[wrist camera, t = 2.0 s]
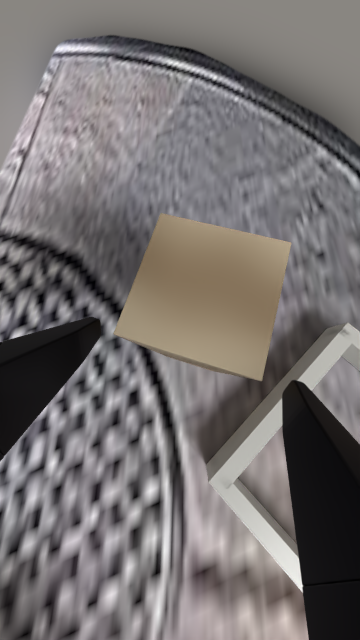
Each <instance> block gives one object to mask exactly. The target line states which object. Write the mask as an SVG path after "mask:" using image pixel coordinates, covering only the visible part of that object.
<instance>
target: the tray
mask: <svg viewBox="0 0 360 640" xmlns="http://www.w3.org/2000/svg"><path fill="white" fill-rule="evenodd" d="M341 356H342V357H343V358H344V359H346V360H347V361H348V362H349V363H350V364H352V365H353V366H354V367H355V368H356V369H358V370H359V371H360V332H359V331H358V330H357V329H355V328H354V327H353V326H351V325H350V324H349V323H344V324H341V325H337V326H334V327H330V328H327V329H326V330H325V331H324V332H323V333H322V334H321V336H320V337H319V338H318V339H317V340H316V341H315V342H314V344H313V345H312V346H311V347H310V348H309V349H308V350H307V351H306V353H305V354H304V355H303V356H302V357H301V358H300V359H299V360H298V362H297V363H296V364H295V365H294V366H293V367H292V368H291V369H290V371H289V372H288V373H287V374H286V375H285V376H284V377H283V378H282V380H281V381H280V382H279V383H278V384H277V385H276V386H275V388H274V389H273V390H272V391H271V392H270V393H269V394H268V395H267V397H266V398H265V399H264V400H263V401H262V402H261V403H260V404H259V406H258V407H257V408H256V409H255V410H254V411H253V412H252V413H251V415H250V416H249V417H248V418H247V419H246V420H245V421H244V422H243V424H242V425H241V426H240V427H239V428H238V429H237V430H236V432H235V433H234V434H233V435H232V436H231V437H230V438H229V439H228V441H227V442H226V443H225V444H224V445H223V446H222V447H221V448H220V450H219V451H218V452H217V453H216V454H215V455H214V456H213V457H212V459H211V460H210V461H209V462H208V463H207V464H206V468H207V475H208V482H209V483H210V484H211V486H212V487H213V488H214V489H215V490H216V491H217V493H218V494H219V495H220V496H221V497H222V498H223V500H224V501H225V502H226V503H227V504H228V506H229V507H230V508H231V509H232V510H233V511H234V513H235V514H236V515H237V516H238V517H239V518H240V520H241V521H242V522H243V523H244V524H245V525H246V527H247V528H248V529H249V530H250V531H251V532H252V534H253V535H254V536H255V537H256V538H257V539H258V541H259V542H260V543H261V544H262V545H263V547H264V548H265V549H266V550H267V551H268V552H269V554H270V555H271V556H272V557H273V558H274V559H275V561H276V562H277V563H278V564H279V565H280V566H281V568H282V569H283V570H284V571H285V572H286V573H287V575H288V576H289V577H290V578H291V579H292V581H293V582H294V583H295V584H296V585H297V586H298V588H299V589H300V590H301V591H302V592H303V589H302V587H303V585H302V580H301V572H300V564H299V556H298V548H297V544H296V543H295V542H294V541H293V539H292V538H291V537H290V536H289V535H288V534H287V533H286V532H285V530H284V529H283V528H282V527H281V526H280V525H279V524H278V523H277V522H276V520H275V519H274V518H273V517H272V516H271V515H270V514H269V513H268V511H267V510H266V509H265V508H264V507H263V506H262V505H261V504H260V503H259V501H258V500H257V499H256V498H255V497H254V496H253V495H252V494H251V492H250V491H249V490H248V489H247V488H246V487H245V486H244V485H243V484H242V482H241V481H240V480H239V479H238V476H239V475H240V474H241V473H242V472H243V471H244V469H245V468H246V467H247V466H248V465H249V464H250V462H251V461H252V460H253V459H254V458H255V456H256V455H257V454H258V453H259V452H260V451H261V449H262V448H263V447H264V446H265V445H266V444H267V442H268V441H269V440H270V439H271V438H272V437H273V435H274V434H275V433H276V432H277V431H278V429H279V428H280V427H281V426H282V394H283V391H284V390H285V388H286V387H287V386H288V384H289V383H290V382H291V381H292V380H297V381H300V382H303V383H305V384H306V386H307V387H308V388H309V389H310V390H311V391H312V390H313V388H314V387H315V386H316V385H317V384H318V382H319V381H320V380H321V379H322V378H323V377H324V375H325V374H326V373H327V372H328V371H329V370H330V368H331V367H332V366H333V365H334V364H335V363H336V361H337V360H338V359H339V358H340V357H341Z"/></svg>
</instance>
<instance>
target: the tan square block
mask: <svg viewBox="0 0 360 640" xmlns="http://www.w3.org/2000/svg"><path fill="white" fill-rule="evenodd" d="M290 247H291V242H286V241H282V240H277V239H273V238H268V237H264V236H260V235H255V234H251V233H246V232H242V231H237V230H233V229H229V228H224V227H220V226H215V225H211V224H206V223H202V222H198V221H193V220H189V219H184V218H180V217H175V216H171V215H166V214H162V213H161V214H160V216H159V219H158V222H157V224H156V227H155V229H154V232H153V234H152V237H151V239H150V242H149V245H148V247H147V250H146V252H145V255H144V257H143V260H142V262H141V265H140V267H139V270H138V273H137V275H136V278H135V280H134V283H133V285H132V288H131V290H130V293H129V296H128V298H127V301H126V303H125V306H124V308H123V311H122V313H121V316H120V318H119V321H118V324H117V326H116V329H115V331H114V335H117V336H119V337H122V338H124V339H126V340H129V341H131V342H134V343H136V344H138V345H141V346H143V347H146V348H148V349H150V350H153V351H155V352H158V353H160V354H162V355H165V356H167V357H170V358H174V359H177V360H180V361H183V362H186V363H189V364H192V365H195V366H199V367H202V368H205V369H208V370H211V371H215V372H220V373H225V374H230V375H235V376H239V377H244V378H249V379H254V380H259V381H262V378H263V374H264V369H265V364H266V360H267V355H268V350H269V345H270V341H271V336H272V331H273V327H274V322H275V317H276V313H277V308H278V303H279V299H280V294H281V289H282V285H283V280H284V275H285V270H286V266H287V261H288V256H289V252H290Z"/></svg>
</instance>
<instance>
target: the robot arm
mask: <svg viewBox="0 0 360 640" xmlns="http://www.w3.org/2000/svg"><path fill="white" fill-rule="evenodd" d="M100 336H101V324H100V320H99V319H97V318H94V317H89V318H85V319H81V320H78V321H74V322H71V323H67V324H64V325H60V326H56V327H53V328H49V329H46V330H42V331H39V332H35V333H32V334H28V335H24V336H21V337H17V338H14V339H10V340H7V341H3V342H0V461H1V460H2V459H3V457H4V456H5V455H6V454H7V452H8V451H9V450H10V449H11V448H12V446H13V445H14V444H15V443H16V442H17V440H18V439H19V438H20V437H21V436H22V435H23V433H24V432H25V431H26V430H27V429H28V427H29V426H30V425H31V424H32V423H33V421H34V420H35V419H36V418H37V417H38V415H39V414H40V413H41V412H42V411H43V409H44V408H45V407H46V406H47V405H48V403H49V402H50V401H51V400H52V399H53V397H54V396H55V395H56V394H57V393H58V392H59V390H60V389H61V388H62V387H63V386H64V384H65V383H66V382H67V381H68V380H69V378H70V377H71V376H72V375H73V374H74V372H75V371H76V370H77V369H78V368H79V366H80V365H81V364H82V363H83V361H84V360H85V359H86V357H87V356H88V354H89V353H90V351H91V350H92V348H93V347H94V345H95V344H96V342H97V341H98V339H99V338H100ZM282 427H283V439H284V447H285V454H286V462H287V470H288V478H289V486H290V493H291V501H292V509H293V517H294V525H295V533H296V540H297V548H298V556H299V564H300V572H301V580H302V585H303V587H302V589H303V597H304V605H305V612H306V620H307V628H308V636H309V640H360V444H359V443H358V442H357V441H356V440H355V439H354V438H353V437H352V435H351V434H350V433H349V432H348V431H347V430H346V429H345V428H344V427H343V425H342V424H341V423H340V422H339V421H338V420H337V419H336V418H335V417H334V415H333V414H332V413H331V412H330V411H329V410H328V409H327V408H326V407H325V406H324V404H323V403H322V402H321V401H320V400H319V399H318V398H317V397H316V396H315V394H314V393H313V392H312V391H311V390H310V389H309V388H308V387H307V386H306V384H305V383H303V382H300V381H297V380H292V381H291V382H290V383H289V384H288V386H287V387H286V388H285V390H284V391H283V394H282Z"/></svg>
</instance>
